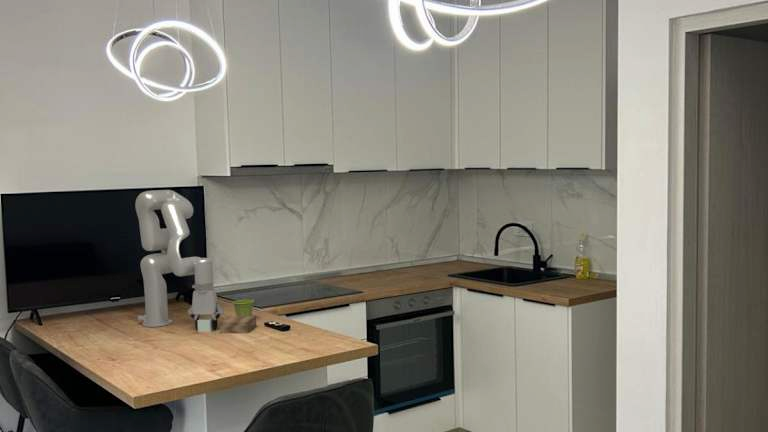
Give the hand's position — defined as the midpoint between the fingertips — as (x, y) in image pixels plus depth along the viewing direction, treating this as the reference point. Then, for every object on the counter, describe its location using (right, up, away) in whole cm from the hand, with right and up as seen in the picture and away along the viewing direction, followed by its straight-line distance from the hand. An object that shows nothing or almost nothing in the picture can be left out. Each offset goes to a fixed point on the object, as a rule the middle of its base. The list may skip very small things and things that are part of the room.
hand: (206, 328), depth 311 cm
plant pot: (+13, +1, +19) cm, 22 cm away
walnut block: (+14, -1, -2) cm, 14 cm away
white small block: (0, -1, 0) cm, 1 cm away
